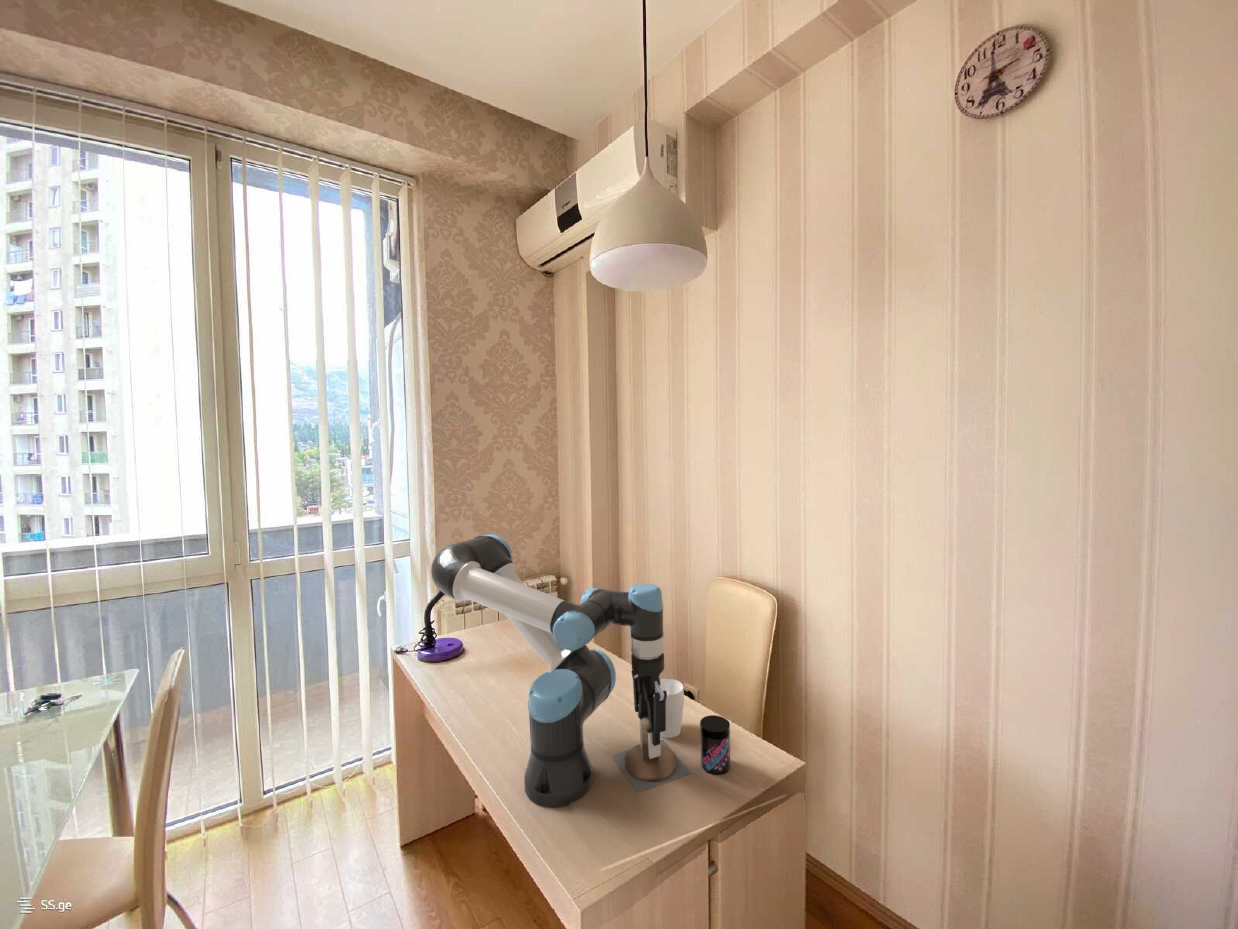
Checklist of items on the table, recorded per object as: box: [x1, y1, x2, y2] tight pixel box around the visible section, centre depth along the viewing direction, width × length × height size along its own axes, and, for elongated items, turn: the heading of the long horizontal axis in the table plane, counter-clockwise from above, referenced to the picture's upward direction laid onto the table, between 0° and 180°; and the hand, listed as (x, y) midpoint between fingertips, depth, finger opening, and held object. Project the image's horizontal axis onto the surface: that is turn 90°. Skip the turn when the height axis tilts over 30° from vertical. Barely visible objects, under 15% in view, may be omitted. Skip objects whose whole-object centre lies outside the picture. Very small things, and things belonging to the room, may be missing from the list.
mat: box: [611, 739, 693, 794], centre depth 118 cm, size 14×14×1 cm
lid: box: [625, 716, 677, 782], centre depth 117 cm, size 12×12×10 cm
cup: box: [659, 678, 685, 739], centre depth 131 cm, size 9×9×12 cm
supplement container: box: [699, 714, 731, 776], centre depth 116 cm, size 7×7×10 cm
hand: (650, 751), depth 118 cm, fingers closed on lid, 3 cm apart
